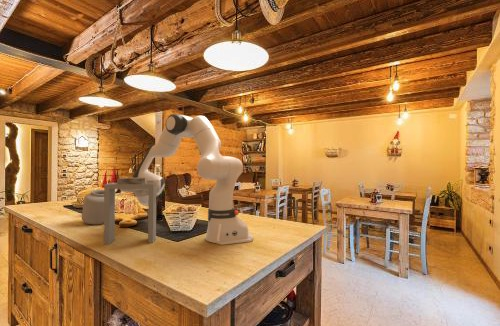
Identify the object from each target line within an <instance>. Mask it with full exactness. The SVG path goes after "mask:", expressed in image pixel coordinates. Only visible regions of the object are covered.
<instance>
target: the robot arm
mask: <svg viewBox="0 0 500 326" xmlns="http://www.w3.org/2000/svg"><path fill="white" fill-rule="evenodd" d="M183 138H187V139H193V140H194V141H195V143H196V145H197V147H198V150H199V153H200V159H199V160H198V162H197V165H196V171H197V174H198V175H199V177H200V178H201V179H204V180H210V181H215V184H214V186H213V188H211V189H210V191H209V192H208V193H209V194H208V195H209V196H208V199H209V200H208V208H207V209H208V210H207V221H208V224H207V230H206V234H205V237H204V238H205V241H206V242H209V243H212V244H213V243H214V244H217V245H221V246H222V245H230V244H231V245H232V244H240V243H241V244H242V243H249V242H250V243H251V242H252V241H253V240H254V235H253V234H252V233H251V232H249V229H248V228H249V227H248V224H247V223H246V222H245V221H244V220H242V219H241V218H240V217H238V215H239V211H238V210H237V209H235V208H234V207H233V206H234V205H233V200H234V190H235V186H236V184H237V181H238V178H239V177H240V176H241V175H242V173H243V170H244V166H243V165H244V164H243V162H242V161H241V159H239V158H238V157H234V156H228V155H222V154H221V153H220V152H221V151H220V149H221V146H222V142H221V139H220V138H219V135H218V133H217V132H216V130H215V128H214V126H213V125H212V123H211V122H210V121H209V119H208V118H207V117H206V116H205V115H195V116H194V117H190V116H188V115H184V114H179V113H172V114H170V115H168V116H167V118H166V119H165V126H164V128H163V130H162V131H161V134H160V136H159V139H158V140H157V143H156V144H152V145H151V146H150V147H148V150H147V151H146V153H145V155H144V156H143V158H142V160H141V162H140V163H139V165H138V167H137V168H136V170H135V172H134V173H132V174H133V175H132V176H131V178H136V177H140V178H145V183H156V198H157V197H159V196H160V195H161V194H162V193H163V191H164V190H165V187H166V180H165V178H164V177H162V176H161V175H158V174H155V173H153V172H152V171H149V167H150V166H151V163H152V161H153V160H154V158H170V157H172V156H173V157H174V155H176V153H177V152H178V149H179V147H180V144H181V141H182V139H183ZM119 190H120V191H121V192H125V193H133V194H134V196H135V197H136V198H137V200H138V203H140V205H142V206H143V207H148V203H149V189H119Z"/></svg>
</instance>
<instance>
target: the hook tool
mask: <svg viewBox="0 0 500 326" xmlns="http://www.w3.org/2000/svg"><path fill="white" fill-rule="evenodd" d="M116 183H117V184H144V183H145V178H140V177H136V178H132V177H120V178H117V181H116Z"/></svg>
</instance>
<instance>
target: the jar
mask: <svg viewBox="0 0 500 326" xmlns="http://www.w3.org/2000/svg"><path fill="white" fill-rule="evenodd" d="M102 182H103V180H102V179H101V183H102ZM81 220H82V222H84V223H86V224H88V225H95V226H97V225H98V226H99V225H104V189H97V188H95V189H94V190H91V191H90V193H88V194H86V195H85V196H84V199H83V206H82V212H81Z"/></svg>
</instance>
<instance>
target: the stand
mask: <svg viewBox="0 0 500 326" xmlns="http://www.w3.org/2000/svg"><path fill="white" fill-rule="evenodd" d="M120 189H149V203H148V206H147V208H148V210H147V211H148V213H147V214H148V218H147V221H148V222H147V223H148V224H147V226H148V227H147V229H148V230H147V243H148V244H153V243H154V242H155V240H156V239H157V197H156V183H144V184H117V182H109V183H105V184H104V189H103V190H104V224H103V246H107V245H110V244H111V243H113V242H114V241H115V237H116V236H115V233H116V229H115V225H116V222H115V221H116V190H120Z"/></svg>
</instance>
